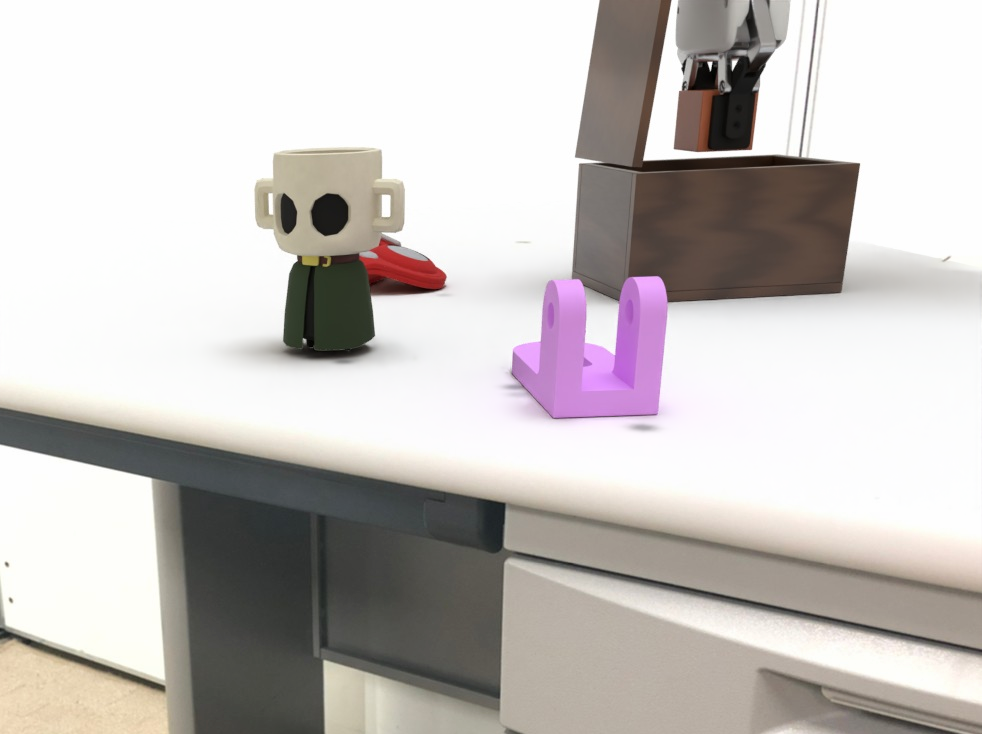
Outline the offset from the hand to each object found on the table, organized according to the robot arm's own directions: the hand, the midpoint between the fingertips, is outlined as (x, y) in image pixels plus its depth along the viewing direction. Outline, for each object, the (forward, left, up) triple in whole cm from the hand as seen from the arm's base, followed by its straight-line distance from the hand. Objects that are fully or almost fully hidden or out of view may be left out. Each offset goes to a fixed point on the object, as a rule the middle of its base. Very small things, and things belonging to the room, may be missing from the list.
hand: (713, 144), depth 96 cm
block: (0, 0, 0) cm, 0 cm away
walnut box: (0, 0, -11) cm, 11 cm away
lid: (+7, 0, +8) cm, 11 cm away
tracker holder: (+24, -9, -11) cm, 28 cm away
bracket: (+22, +31, -11) cm, 40 cm away
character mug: (+34, +17, -11) cm, 40 cm away
